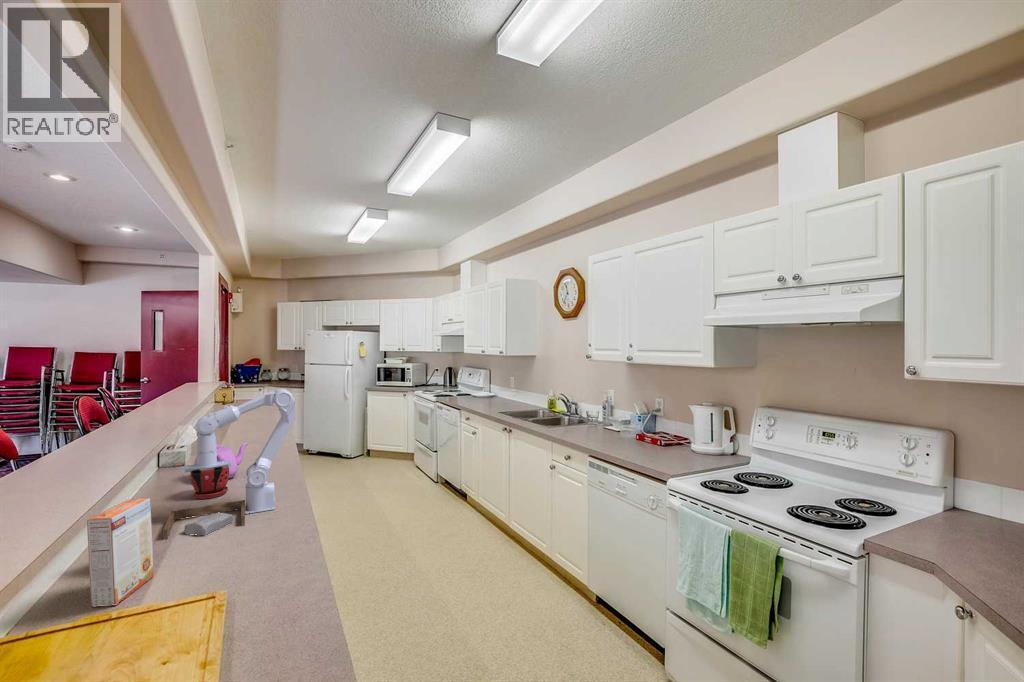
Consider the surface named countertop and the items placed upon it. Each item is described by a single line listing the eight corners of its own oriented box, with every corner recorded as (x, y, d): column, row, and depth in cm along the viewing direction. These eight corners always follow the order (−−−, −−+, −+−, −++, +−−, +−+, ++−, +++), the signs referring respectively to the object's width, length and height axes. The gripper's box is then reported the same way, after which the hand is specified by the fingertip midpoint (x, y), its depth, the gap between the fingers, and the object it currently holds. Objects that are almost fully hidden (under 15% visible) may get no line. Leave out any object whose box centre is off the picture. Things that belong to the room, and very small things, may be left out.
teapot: (200, 489, 202) (199, 452, 201) (189, 479, 217) (188, 445, 217) (260, 477, 218) (259, 443, 217) (245, 468, 233) (244, 436, 232)
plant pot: (236, 489, 200) (235, 460, 200) (218, 500, 187) (217, 469, 187) (203, 490, 200) (203, 461, 200) (183, 501, 187) (182, 470, 187)
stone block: (181, 541, 155) (207, 536, 153) (178, 525, 155) (205, 521, 153) (211, 527, 166) (236, 523, 164) (209, 513, 167) (234, 509, 165)
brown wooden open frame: (245, 507, 178) (244, 499, 178) (244, 525, 161) (244, 516, 161) (171, 519, 168) (171, 511, 168) (163, 539, 151) (163, 530, 151)
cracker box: (130, 578, 127) (127, 498, 126) (154, 577, 127) (152, 497, 127) (88, 608, 113) (85, 518, 113) (115, 607, 113) (113, 517, 113)
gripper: (231, 446, 176) (232, 484, 176) (183, 451, 169) (184, 491, 169) (230, 450, 169) (231, 489, 170) (180, 456, 163) (181, 496, 163)
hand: (207, 490), depth 169 cm, fingers open, 4 cm apart
